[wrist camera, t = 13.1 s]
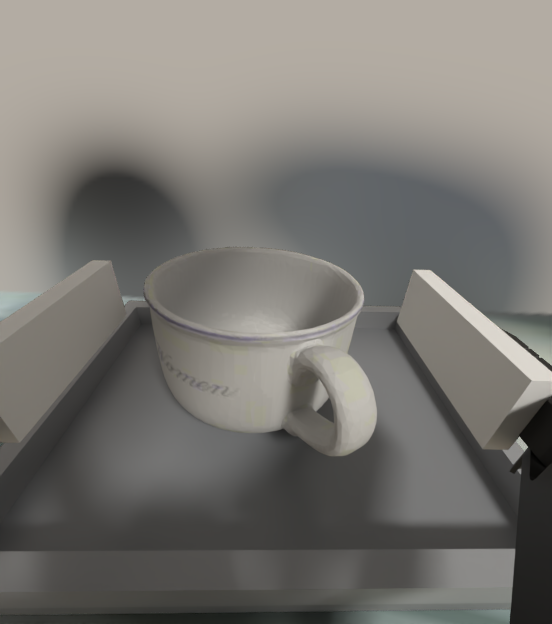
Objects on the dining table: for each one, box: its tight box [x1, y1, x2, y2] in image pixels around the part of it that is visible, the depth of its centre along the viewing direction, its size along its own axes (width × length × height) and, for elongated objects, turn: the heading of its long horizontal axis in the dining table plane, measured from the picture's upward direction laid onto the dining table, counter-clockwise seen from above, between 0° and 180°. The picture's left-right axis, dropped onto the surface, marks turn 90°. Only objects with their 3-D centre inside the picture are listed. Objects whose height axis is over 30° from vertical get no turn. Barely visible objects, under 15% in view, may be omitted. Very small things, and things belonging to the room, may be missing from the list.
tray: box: [0, 301, 524, 615], centre depth 17 cm, size 24×18×2 cm
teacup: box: [144, 247, 377, 456], centre depth 15 cm, size 14×11×8 cm
